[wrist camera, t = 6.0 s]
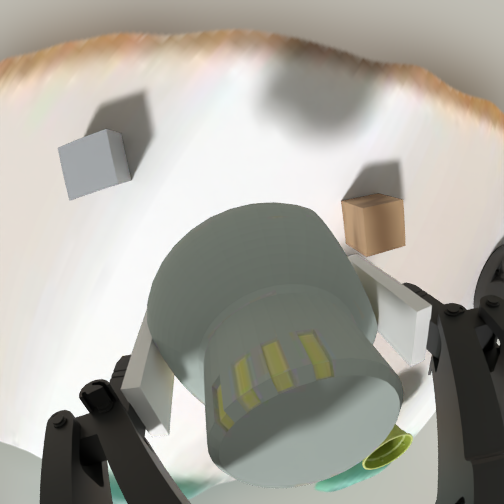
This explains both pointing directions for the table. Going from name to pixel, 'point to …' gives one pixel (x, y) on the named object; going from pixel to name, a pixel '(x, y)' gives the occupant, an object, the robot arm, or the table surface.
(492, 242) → the table surface
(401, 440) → the plant pot
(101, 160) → the grey block
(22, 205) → the table surface
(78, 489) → the robot arm
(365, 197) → the walnut block
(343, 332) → the air freshener
